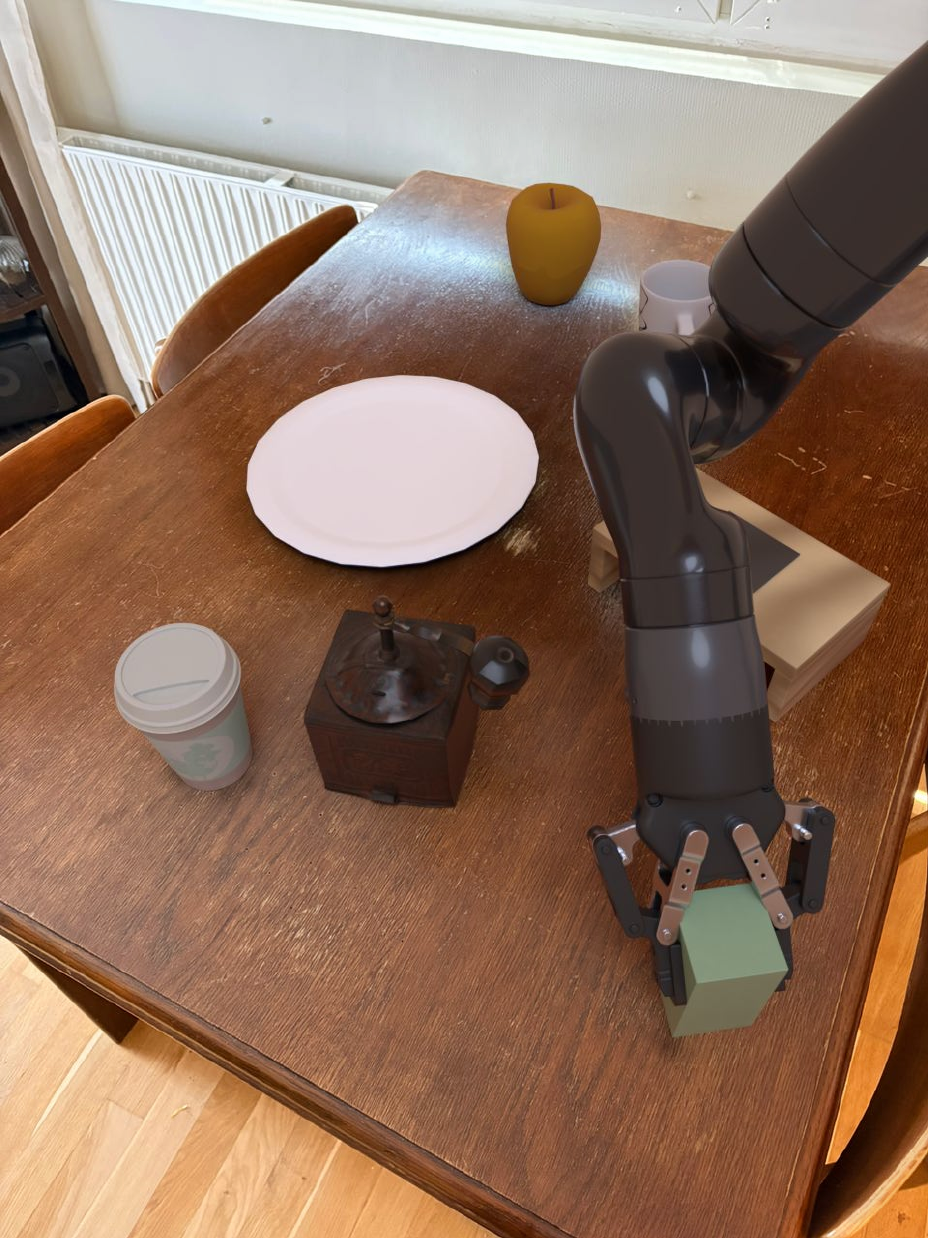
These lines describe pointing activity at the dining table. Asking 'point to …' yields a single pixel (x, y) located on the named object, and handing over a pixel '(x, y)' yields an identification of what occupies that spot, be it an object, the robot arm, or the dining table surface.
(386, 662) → the coffee grinder
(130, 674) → the coffee cup
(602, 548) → the shelf
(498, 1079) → the dining table surface
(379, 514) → the plate
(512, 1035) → the dining table surface
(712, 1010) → the green carton
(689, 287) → the mug
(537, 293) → the apple
